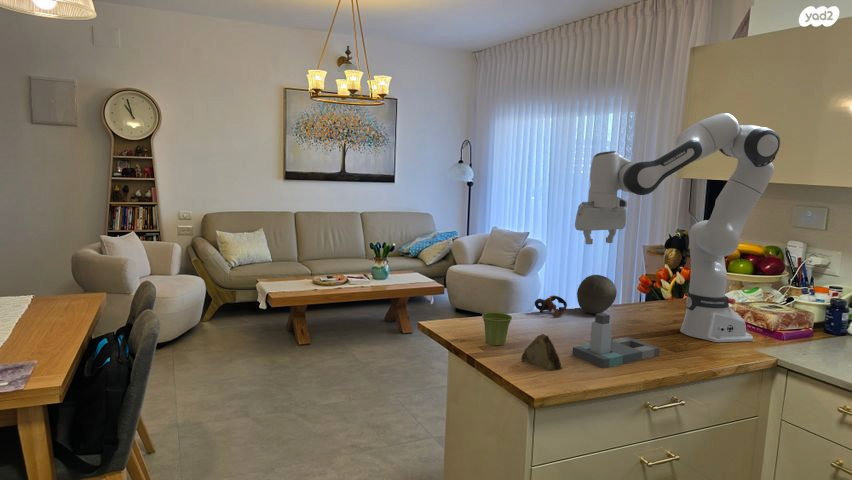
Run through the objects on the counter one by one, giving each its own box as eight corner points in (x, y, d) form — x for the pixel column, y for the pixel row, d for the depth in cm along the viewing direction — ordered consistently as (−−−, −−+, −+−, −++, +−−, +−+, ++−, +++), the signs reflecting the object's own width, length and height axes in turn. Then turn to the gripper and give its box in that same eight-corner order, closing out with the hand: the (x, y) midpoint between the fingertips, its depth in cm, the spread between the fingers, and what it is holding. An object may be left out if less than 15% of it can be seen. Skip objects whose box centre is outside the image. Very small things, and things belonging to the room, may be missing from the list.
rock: (510, 353, 161) (530, 360, 152) (525, 328, 163) (545, 333, 154) (536, 373, 165) (557, 380, 155) (550, 347, 167) (572, 354, 157)
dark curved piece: (557, 311, 221) (566, 296, 217) (561, 328, 213) (571, 312, 209) (529, 304, 219) (537, 288, 215) (532, 320, 211) (541, 304, 207)
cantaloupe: (588, 319, 210) (591, 279, 208) (569, 309, 223) (571, 272, 221) (621, 317, 214) (624, 278, 212) (600, 308, 227) (603, 271, 225)
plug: (598, 355, 169) (602, 312, 167) (609, 360, 166) (612, 315, 164) (589, 357, 167) (592, 313, 165) (599, 362, 163) (603, 317, 162)
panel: (626, 344, 181) (627, 336, 181) (658, 355, 171) (659, 347, 170) (572, 355, 169) (572, 347, 168) (603, 368, 159) (604, 359, 158)
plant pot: (514, 341, 180) (516, 315, 179) (504, 349, 172) (505, 321, 171) (487, 336, 184) (488, 310, 183) (476, 344, 176) (477, 317, 175)
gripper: (586, 202, 176) (583, 246, 177) (630, 202, 186) (627, 243, 188) (571, 201, 181) (569, 243, 183) (615, 200, 191) (612, 241, 193)
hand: (599, 243), depth 185 cm, fingers open, 8 cm apart
